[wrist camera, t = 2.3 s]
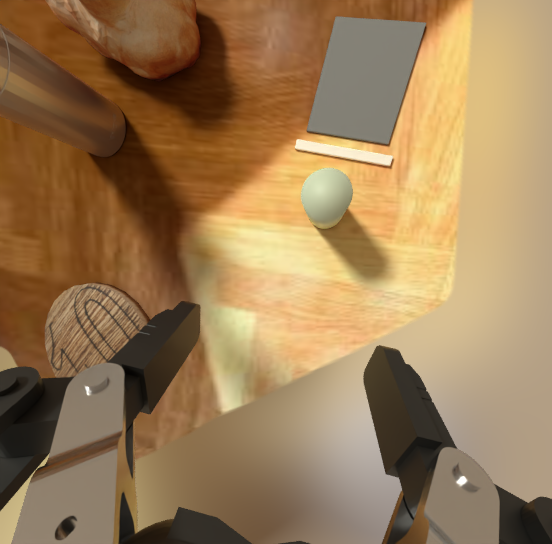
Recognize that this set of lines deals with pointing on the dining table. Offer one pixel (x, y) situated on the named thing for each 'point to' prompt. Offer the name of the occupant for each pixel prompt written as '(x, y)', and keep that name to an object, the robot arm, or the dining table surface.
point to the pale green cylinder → (326, 197)
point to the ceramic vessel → (137, 32)
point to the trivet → (90, 327)
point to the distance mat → (363, 84)
